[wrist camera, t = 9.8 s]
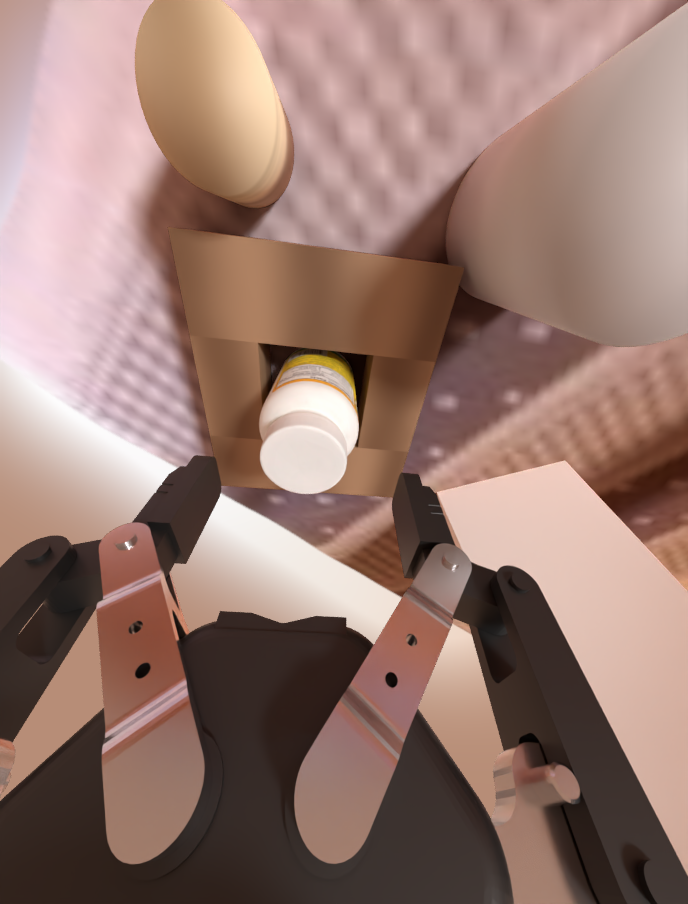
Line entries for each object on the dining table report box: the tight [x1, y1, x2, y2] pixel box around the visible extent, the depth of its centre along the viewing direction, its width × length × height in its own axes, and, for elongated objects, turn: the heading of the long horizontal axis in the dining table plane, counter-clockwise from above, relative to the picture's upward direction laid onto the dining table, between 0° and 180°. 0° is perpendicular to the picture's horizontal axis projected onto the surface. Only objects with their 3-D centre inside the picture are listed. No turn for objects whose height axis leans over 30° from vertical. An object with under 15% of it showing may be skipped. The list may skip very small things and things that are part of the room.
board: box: [168, 227, 464, 497], centre depth 19 cm, size 14×16×3 cm
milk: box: [437, 461, 688, 875], centre depth 19 cm, size 12×12×26 cm
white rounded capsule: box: [446, 3, 688, 347], centre depth 11 cm, size 8×8×10 cm
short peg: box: [135, 0, 294, 208], centre depth 12 cm, size 4×4×5 cm
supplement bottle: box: [259, 348, 359, 494], centre depth 17 cm, size 5×5×10 cm
